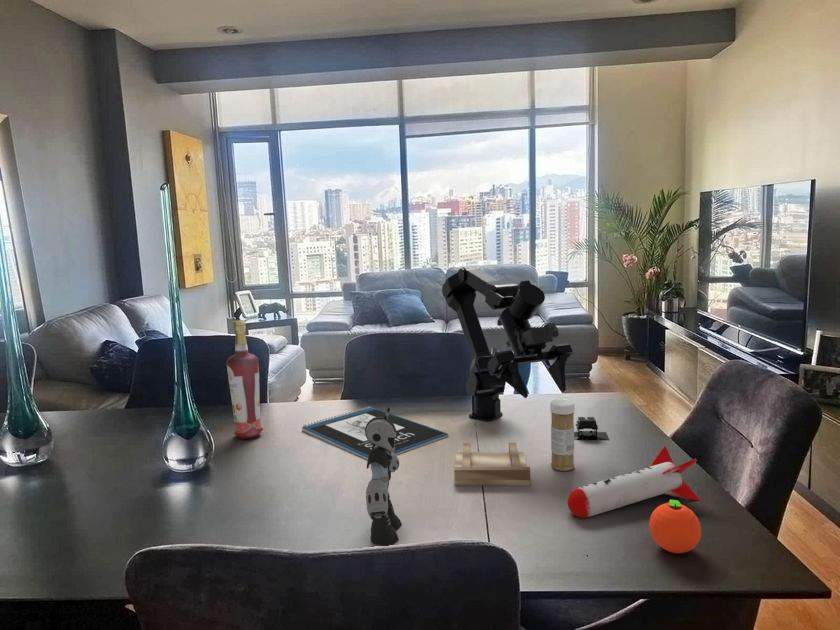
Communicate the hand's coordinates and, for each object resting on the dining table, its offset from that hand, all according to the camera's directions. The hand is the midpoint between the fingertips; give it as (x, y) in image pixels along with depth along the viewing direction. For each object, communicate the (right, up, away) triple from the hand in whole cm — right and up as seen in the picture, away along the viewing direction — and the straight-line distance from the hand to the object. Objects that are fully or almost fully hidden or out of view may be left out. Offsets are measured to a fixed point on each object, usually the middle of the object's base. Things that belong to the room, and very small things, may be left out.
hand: (545, 394), depth 122 cm
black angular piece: (+12, -12, +11) cm, 20 cm away
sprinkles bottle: (+2, -14, -6) cm, 15 cm away
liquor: (-68, -13, +19) cm, 71 cm away
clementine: (+11, -18, -36) cm, 42 cm away
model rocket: (+9, -16, -22) cm, 29 cm away
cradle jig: (-12, -14, -6) cm, 20 cm away
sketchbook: (-38, -12, +18) cm, 44 cm away
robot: (-32, -18, -28) cm, 46 cm away
